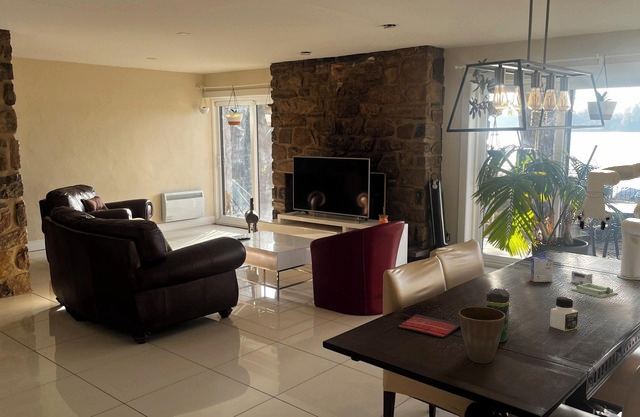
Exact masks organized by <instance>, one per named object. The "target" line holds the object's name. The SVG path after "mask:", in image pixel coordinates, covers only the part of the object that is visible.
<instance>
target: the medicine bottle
mask: <svg viewBox="0 0 640 417" xmlns="http://www.w3.org/2000/svg"><path fill="white" fill-rule="evenodd" d="M549 317H550V319H549V321H550V322H549V327H551V328H554V329H557V330H559V331H562V332H568V331H572V330H577V329H578V320H579V319H578V318H579V311H578V310H577V309H574V299H573V298H571V297H569V296H564V295H563V296H557V298H555V307H554V308H551V309H550V316H549Z"/></svg>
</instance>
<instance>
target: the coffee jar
mask: <svg viewBox="0 0 640 417" xmlns="http://www.w3.org/2000/svg"><path fill="white" fill-rule="evenodd" d="M510 295H511V294H510V293H509V291H507V289H505V288H504V289H503V288H493V289H491V290H489V291H488V292H487V293H486V297H485V307H487V308H493V309H497V310H499V311H501V312H503V313H504V314H505V321H504V326H503V331H502V335H501V338H500V341H499V343H505V342H506V341H507V340H508V337H509V320H510V319H509V318H510V317H509V316H510Z"/></svg>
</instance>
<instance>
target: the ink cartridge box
mask: <svg viewBox="0 0 640 417" xmlns="http://www.w3.org/2000/svg"><path fill="white" fill-rule="evenodd" d="M545 254H546V253H545V252H537V257H536V256H535V257H530V280H531V282H535V283H541V282H543V283H545V282H547V283H548V282H550V283H552V282H553V273H554V272H553V270H554V268H553V267H554V258H552V257H550V256H546V255H545Z"/></svg>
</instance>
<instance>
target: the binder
mask: <svg viewBox="0 0 640 417" xmlns="http://www.w3.org/2000/svg"><path fill="white" fill-rule="evenodd" d="M397 328H398V329H400V328H402V329H401V330H405V329H406V331H410V330H411V332H416V333H420V334H424V335H430V336H432V337H435V338H438V339H446V338H448V337H450V336H451V335H453V334H455V333H457V332H458V331H459V330H457V329H459V328H460V329H461V326H460V322H454V321H450V320H445V319H439V318H435V317H432V316H425V315H423V314H422V315H421V314H418V313H416V314H414V315H412V316H411V317H408V319H406V320H404V321H402V322H401V323H399V324H398V325H397Z"/></svg>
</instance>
